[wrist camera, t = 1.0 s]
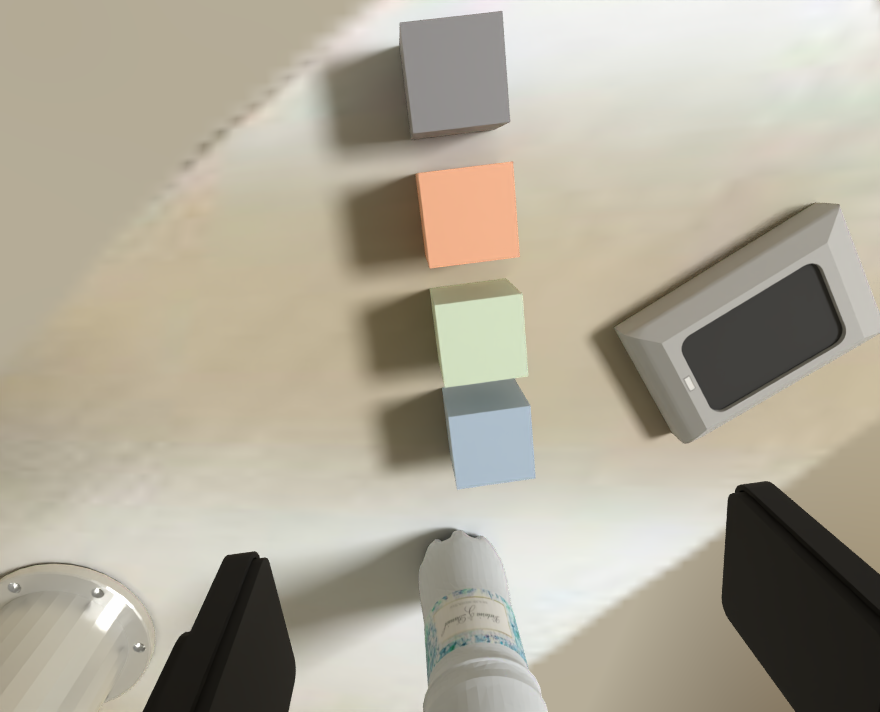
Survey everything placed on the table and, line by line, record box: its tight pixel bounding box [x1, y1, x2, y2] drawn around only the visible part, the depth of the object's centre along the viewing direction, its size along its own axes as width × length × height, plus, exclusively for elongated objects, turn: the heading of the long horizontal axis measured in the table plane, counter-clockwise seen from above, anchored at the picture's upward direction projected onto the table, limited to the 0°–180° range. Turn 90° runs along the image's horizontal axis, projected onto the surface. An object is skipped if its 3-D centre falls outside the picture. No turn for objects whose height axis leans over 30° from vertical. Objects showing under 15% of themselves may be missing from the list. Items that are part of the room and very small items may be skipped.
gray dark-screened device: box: [614, 203, 880, 444], centre depth 37 cm, size 10×4×15 cm
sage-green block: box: [430, 278, 528, 388], centre depth 34 cm, size 5×5×5 cm
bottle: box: [418, 530, 548, 712], centre depth 33 cm, size 7×7×20 cm
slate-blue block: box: [442, 378, 535, 489], centre depth 37 cm, size 5×5×5 cm
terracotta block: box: [415, 162, 520, 268], centre depth 32 cm, size 5×5×5 cm
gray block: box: [399, 11, 510, 140], centre depth 30 cm, size 5×5×5 cm
